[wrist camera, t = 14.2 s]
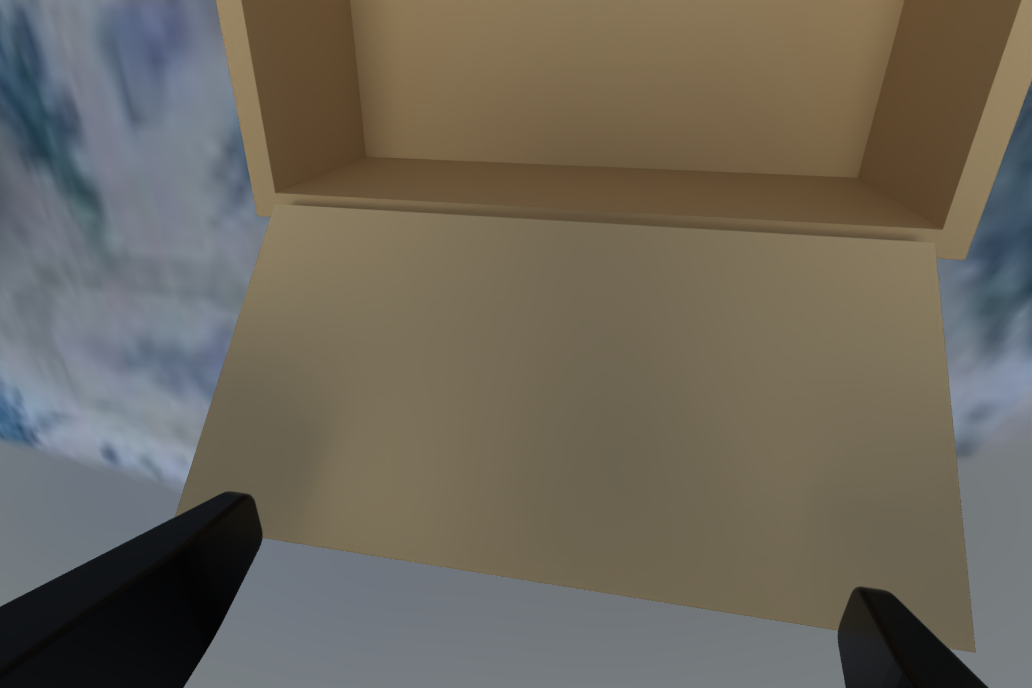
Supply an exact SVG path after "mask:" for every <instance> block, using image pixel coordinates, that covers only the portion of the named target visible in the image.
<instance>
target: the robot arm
mask: <svg viewBox="0 0 1032 688" xmlns="http://www.w3.org/2000/svg"><path fill="white" fill-rule="evenodd" d="M262 537H263V531H262V526H261V522H260V518H259V514H258V510H257V506H256V502H255V499H254V498H253V497H252V495H250V494H247V493H241V492H234V491H226V492H223V493H221V494H219V495H217V496H215V497H213V498H211V499H209V500H207V501H205V502H203V503H201V504H199V505H198V506H196V507H194V508H192V509H190V510H188V511H186V512H184V513H182V514H180V515H178V516H176V517H174V518H173V519H170V520H168V521H166V522H165V523H162V524H161V525H159V526H157V527H155V528H153V529H151V530H149V531H147V532H145V533H143V534H141V535H139V536H137V537H135V538H133V539H131V540H129V541H127V542H125V543H123V544H122V545H120V546H118V547H116V548H114V549H112V550H110V551H108V552H106V553H104V554H102V555H100V556H98V557H96V558H94V559H92V560H90V561H88V562H86V563H84V564H83V565H81V566H79V567H77V568H75V569H73V570H71V571H69V572H67V573H65V574H63V575H61V576H59V577H57V578H55V579H53V580H51V581H49V582H48V583H46V584H44V585H42V586H40V587H38V588H36V589H34V590H32V591H30V592H28V593H26V594H24V595H22V596H20V597H18V598H16V599H14V600H12V601H11V602H8V603H7V604H4V605H2V606H1V607H0V688H183V687H184V686H185V684H186V682H187V681H188V679H189V678H190V676H191V675H192V672H193V671H194V670H195V668H196V667H197V665H198V663H199V662H200V660H201V659H202V657H203V655H204V654H205V652H206V650H207V649H208V647H209V645H210V644H211V642H212V640H213V639H214V637H215V635H216V633H217V631H218V630H219V628H220V626H221V624H222V622H223V620H224V618H225V616H226V614H227V612H228V610H229V608H230V606H231V604H232V602H233V600H234V598H235V596H236V594H237V592H238V590H239V588H240V586H241V584H242V582H243V580H244V578H245V576H246V574H247V572H248V570H249V568H250V566H251V564H252V562H253V560H254V558H255V556H256V554H257V552H258V550H259V548H260V545H261V542H262ZM838 646H839V651H840V657H841V663H842V669H843V674H844V680H845V686H846V688H988V687H987V686H986V685H985V684H984V683H983V682H982V681H981V680H980V679H979V678H978V677H977V676H976V675H975V674H974V673H973V672H972V671H971V670H970V669H969V668H968V667H967V666H966V665H965V664H964V663H963V662H962V661H961V660H960V659H959V658H958V657H957V656H956V655H955V654H954V653H953V652H952V651H951V650H950V649H949V648H948V647H947V646H946V645H945V644H944V643H943V642H941V641H940V640H939V639H938V638H937V637H936V636H935V635H934V634H933V633H932V632H931V631H930V630H929V629H928V628H927V627H926V626H925V625H924V624H923V623H922V622H921V621H920V620H919V619H918V618H917V617H916V616H915V615H914V614H913V613H912V612H911V611H910V610H909V609H908V608H907V607H906V606H905V605H904V604H903V603H902V602H901V601H900V600H899V599H898V598H897V597H896V596H895V595H893V594H892V593H891V592H889V591H886V590H882V589H876V588H869V587H862V586H859V587H856V588H855V589H853V591H852V593H851V595H850V597H849V600H848V603H847V605H846V608H845V611H844V613H843V616H842V618H841V621H840V624H839V628H838Z"/></svg>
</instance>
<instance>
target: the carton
mask: <svg viewBox="0 0 1032 688" xmlns="http://www.w3.org/2000/svg"><path fill="white" fill-rule="evenodd" d="M216 3H217V9H218V14H219V19H220V24H221V29H222V35H223V40H224V45H225V50H226V55H227V61H228V66H229V71H230V76H231V81H232V87H233V92H234V97H235V102H236V107H237V113H238V118H239V123H240V128H241V133H242V139H243V144H244V149H245V154H246V159H247V165H248V170H249V175H250V180H251V185H252V191H253V196H254V201H255V206H256V211H257V216H265V217H271V214H272V211H273V208H274V205H275V204H282V205H299V206H316V207H333V208H350V209H367V210H384V211H401V212H418V213H436V214H453V215H470V216H487V217H504V218H521V219H538V220H555V221H573V222H590V223H607V224H624V225H641V226H658V227H675V228H692V229H710V230H727V231H744V232H761V233H778V234H795V235H812V236H829V237H847V238H864V239H881V240H898V241H915V242H932V243H935V249H936V258H939V259H955V260H965V259H966V256H967V253H968V251H969V248H970V245H971V243H972V240H973V237H974V235H975V232H976V229H977V226H978V224H979V221H980V218H981V216H982V213H983V210H984V207H985V205H986V202H987V199H988V197H989V194H990V191H991V188H992V186H993V183H994V180H995V178H996V175H997V172H998V170H999V167H1000V164H1001V161H1002V159H1003V156H1004V153H1005V151H1006V148H1007V145H1008V142H1009V140H1010V137H1011V134H1012V132H1013V129H1014V126H1015V124H1016V121H1017V118H1018V115H1019V113H1020V110H1021V107H1022V105H1023V102H1024V99H1025V96H1026V94H1027V91H1028V88H1029V86H1030V83H1031V80H1032V0H216Z"/></svg>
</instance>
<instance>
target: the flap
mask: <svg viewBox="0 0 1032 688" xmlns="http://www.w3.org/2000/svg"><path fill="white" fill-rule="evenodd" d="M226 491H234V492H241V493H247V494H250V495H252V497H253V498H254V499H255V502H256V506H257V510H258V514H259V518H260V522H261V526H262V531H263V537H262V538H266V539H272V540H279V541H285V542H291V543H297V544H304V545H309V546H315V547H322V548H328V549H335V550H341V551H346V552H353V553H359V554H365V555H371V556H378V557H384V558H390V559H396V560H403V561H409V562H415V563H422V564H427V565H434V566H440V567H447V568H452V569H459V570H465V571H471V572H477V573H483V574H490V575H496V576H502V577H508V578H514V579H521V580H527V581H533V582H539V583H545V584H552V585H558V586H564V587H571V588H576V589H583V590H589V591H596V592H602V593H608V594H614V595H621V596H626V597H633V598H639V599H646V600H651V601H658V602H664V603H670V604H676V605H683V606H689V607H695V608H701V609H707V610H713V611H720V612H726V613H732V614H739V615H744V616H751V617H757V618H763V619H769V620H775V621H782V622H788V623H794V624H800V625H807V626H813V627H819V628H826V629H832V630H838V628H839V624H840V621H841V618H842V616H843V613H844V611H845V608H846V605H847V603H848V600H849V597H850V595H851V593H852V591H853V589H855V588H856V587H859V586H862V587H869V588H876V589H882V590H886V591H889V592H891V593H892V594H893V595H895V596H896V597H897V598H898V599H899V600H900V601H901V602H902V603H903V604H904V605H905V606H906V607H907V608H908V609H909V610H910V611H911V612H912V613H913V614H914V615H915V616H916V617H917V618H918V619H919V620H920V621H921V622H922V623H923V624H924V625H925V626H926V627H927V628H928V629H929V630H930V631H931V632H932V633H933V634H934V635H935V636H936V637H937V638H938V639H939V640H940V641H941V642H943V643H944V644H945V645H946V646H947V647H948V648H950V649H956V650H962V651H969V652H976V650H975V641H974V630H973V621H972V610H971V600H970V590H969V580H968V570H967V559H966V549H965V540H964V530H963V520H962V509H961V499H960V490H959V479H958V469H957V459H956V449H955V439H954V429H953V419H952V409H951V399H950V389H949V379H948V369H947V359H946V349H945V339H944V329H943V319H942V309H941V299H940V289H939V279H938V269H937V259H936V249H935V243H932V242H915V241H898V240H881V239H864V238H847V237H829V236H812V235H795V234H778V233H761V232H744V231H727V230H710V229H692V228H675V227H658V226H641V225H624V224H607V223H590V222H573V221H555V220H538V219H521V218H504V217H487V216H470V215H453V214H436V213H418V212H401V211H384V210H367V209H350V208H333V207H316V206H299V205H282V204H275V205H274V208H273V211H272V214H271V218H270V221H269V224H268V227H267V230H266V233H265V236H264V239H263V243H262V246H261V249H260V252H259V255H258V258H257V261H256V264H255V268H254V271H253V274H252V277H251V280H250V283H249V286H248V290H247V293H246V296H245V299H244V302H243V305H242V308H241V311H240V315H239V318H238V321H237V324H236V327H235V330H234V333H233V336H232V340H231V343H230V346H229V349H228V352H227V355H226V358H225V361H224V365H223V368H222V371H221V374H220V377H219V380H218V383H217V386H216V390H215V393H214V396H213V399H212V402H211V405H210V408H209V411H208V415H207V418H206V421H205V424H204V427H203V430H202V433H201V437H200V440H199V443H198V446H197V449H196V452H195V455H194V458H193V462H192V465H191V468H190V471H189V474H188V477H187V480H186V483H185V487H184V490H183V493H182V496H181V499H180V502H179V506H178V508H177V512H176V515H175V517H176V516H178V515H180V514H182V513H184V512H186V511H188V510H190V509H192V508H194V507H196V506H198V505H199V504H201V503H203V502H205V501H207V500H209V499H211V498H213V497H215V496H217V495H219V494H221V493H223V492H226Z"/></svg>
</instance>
